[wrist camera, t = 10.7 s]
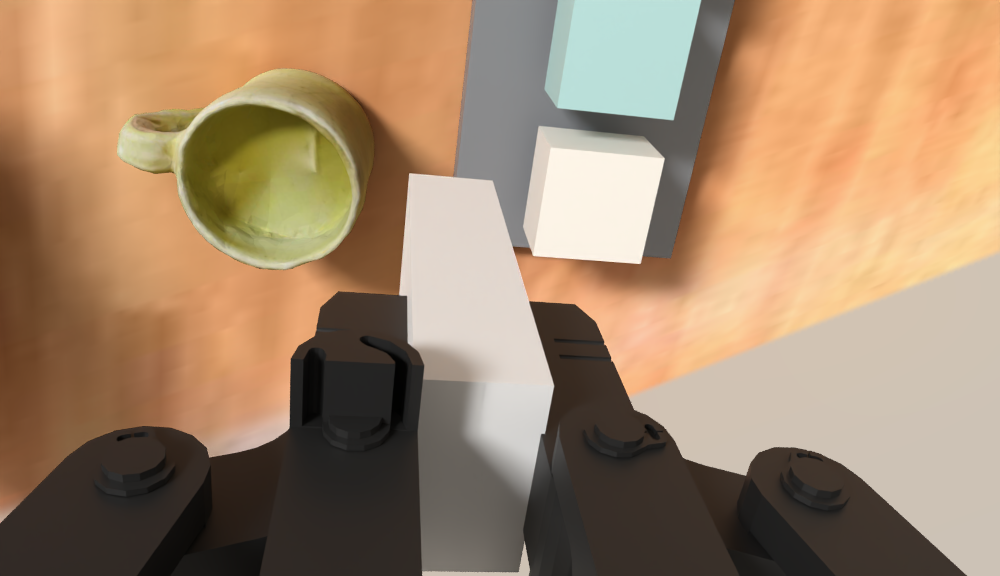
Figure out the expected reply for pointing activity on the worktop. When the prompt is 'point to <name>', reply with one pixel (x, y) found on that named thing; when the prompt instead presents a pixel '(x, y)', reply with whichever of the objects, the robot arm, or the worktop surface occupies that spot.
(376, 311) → the robot arm
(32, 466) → the worktop surface
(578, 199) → the ivory key
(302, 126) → the mug
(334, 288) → the worktop surface
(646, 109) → the teal key
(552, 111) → the console
